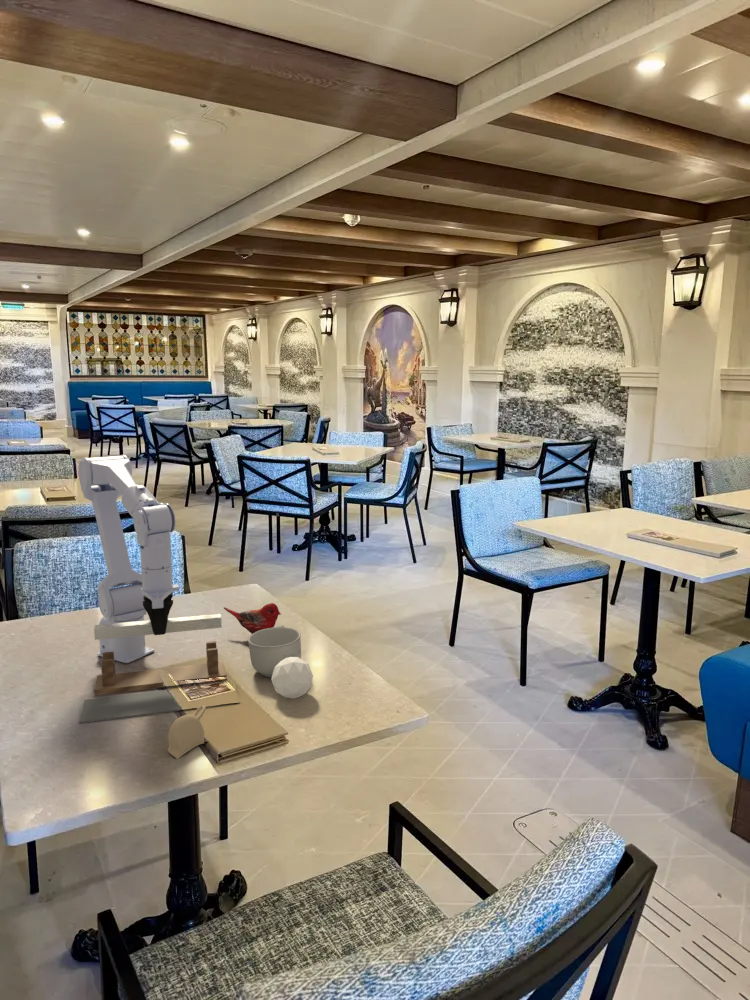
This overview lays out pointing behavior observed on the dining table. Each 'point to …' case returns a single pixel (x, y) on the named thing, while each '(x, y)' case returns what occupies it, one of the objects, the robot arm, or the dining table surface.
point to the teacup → (273, 647)
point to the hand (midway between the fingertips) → (159, 631)
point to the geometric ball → (292, 677)
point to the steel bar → (146, 629)
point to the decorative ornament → (186, 733)
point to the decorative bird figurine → (257, 618)
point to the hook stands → (155, 674)
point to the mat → (127, 706)
